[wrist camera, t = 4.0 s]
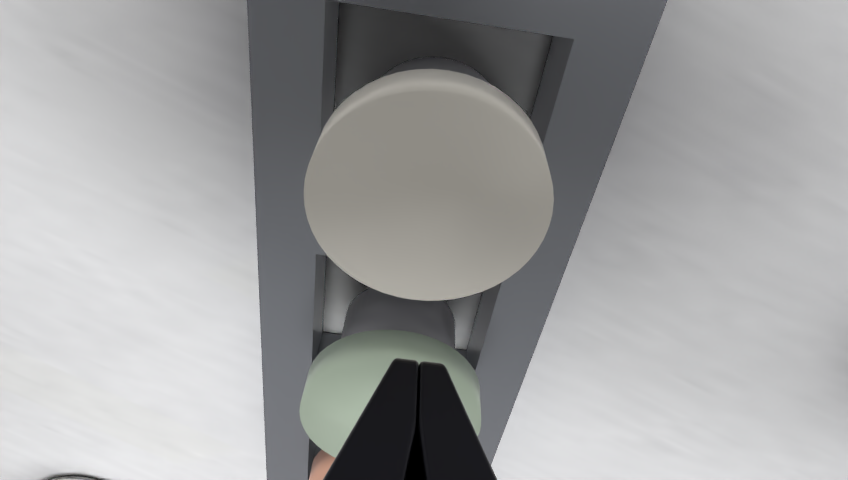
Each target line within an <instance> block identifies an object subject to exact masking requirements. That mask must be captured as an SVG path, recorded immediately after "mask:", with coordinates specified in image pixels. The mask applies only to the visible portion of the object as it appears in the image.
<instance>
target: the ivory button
mask: <svg viewBox="0 0 848 480" xmlns="http://www.w3.org/2000/svg"><path fill="white" fill-rule="evenodd" d="M553 204H554V194H553V183H552V179H551V175H550V170H549V167H548V163H547V159H546V155H545V152H544V148H543V144H542V142H541V139H540V137H539V134H538V132H537V130H536V128H535V127H534V125H533V123H532V121H531V120H530V118H529V117H528V116H527V115H526V113H525V112H524V111H523V110H522V108H521V107H520V106H519V105H518V104H517V103H516V102H514V101H513V100H512V99H511V98H510V97H509V96H508V95H506V94H505V93H503V92H502V91H501V90H499V89H498V88H496V87H495V86H493V85H491V84H490V83H489V82H488V81H487V80H486V79H485V78H484V77H483V76H482V75H481V74H480V73H478V72H477V71H476V70H474V69H473V68H471V67H469V66H467V65H465V64H464V63H461V62H458V61H456V60H452V59H448V58H441V57H423V58H417V59H413V60H410V61H406V62H404V63H402V64H400V65H397V66H396V67H394V68H392V69H391V70H389V71H388V72H387V73H386V74H384V75H383V76H382V77H381V78H379V79H377V80H375V81H372V82H370V83H368V84H366V85H365V86H363V87H362V88H360V89H358V90H357V91H355V92H354V93H353V94H351V95H350V96H349V97H348V98H347V99H346V100H344V101H343V102H342V103H341V104H340V105H339V107H338V108H337V109H336V110H335V111H334V112H333V113H332V115H331V116H330V118H329V120H328V121H327V123H326V124H325V126H324V128H323V130H322V133H321V135H320V137H319V140H318V142H317V145H316V147H315V150H314V152H313V155H312V157H311V160H310V162H309V165H308V168H307V172H306V176H305V183H304V206H305V211H306V216H307V220H308V222H309V225H310V228H311V230H312V233H313V234H314V236H315V238H316V240H317V242H318V244H319V245H320V246H321V248H322V249H323V251H324V252H325V253H326V255H327V256H328V257H329V258H330V259H331V260H332V261H333V262H334V263H335V264H336V265H337V266H338V267H339V268H340V269H342V270H343V271H344V272H345V273H346V274H348V275H349V276H351V277H352V278H354V279H355V280H357V281H359V282H360V283H362V284H364V285H366V286H368V287H370V288H372V289H375V290H377V291H380V292H382V293H385V294H389V295H392V296H396V297H400V298H406V299H412V300H423V301H441V300H450V299H457V298H462V297H466V296H470V295H473V294H477V293H480V292H483V291H485V290H487V289H489V288H492V287H494V286H496V285H498V284H499V283H501V282H503V281H505V280H506V279H508V278H509V277H511V276H512V275H513V274H515V273H516V272H517V271H519V270H520V269H521V268H522V267H523V266H524V265H525V264H526V263H527V262H528V261H529V260H530V259H531V257H532V256H533V255H534V254H535V252H536V251H537V250H538V248H539V246H540V245H541V243H542V241H543V240H544V238H545V235H546V233H547V231H548V228H549V225H550V221H551V217H552V214H553Z"/></svg>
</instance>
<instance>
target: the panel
mask: <svg viewBox="0 0 848 480" xmlns="http://www.w3.org/2000/svg"><path fill="white" fill-rule="evenodd" d="M339 2H343V3H349V4H355V5H362V6H368V7H374V8H380V9H387V10H393V11H399V12H406V13H412V14H418V15H425V16H431V17H437V18H444V19H450V20H456V21H462V22H469V23H475V24H481V25H488V26H494V27H500V28H507V29H513V30H519V31H525V32H532V33H538V34H544V35H551V36H553V39H552V42H551V46H550V49H549V53H548V57H547V60H546V64H545V68H544V71H543V75H542V79H541V82H540V86H539V89H538V93H537V97H536V100H535V104H534V108H533V111H532V115H531V118H530V120H531V121H532V123H533V125H534V127H535V128H536V130H537V132H538V134H539V137H540V139H541V142H542V144H543V148H544V152H545V155H546V159H547V163H548V167H549V170H550V175H551V179H552V183H553V194H554V204H553V214H552V217H551V221H550V225H549V228H548V231H547V233H546V235H545V238H544V240H543V241H542V243H541V245H540V246H539V248H538V250H537V251H536V252H535V254H534V255H533V256H532V257H531V259H530V260H529V261H528V262H527V263H526V264H525V265H524V266H523V267H522V268H521V269H520V270H519V271H517V272H516V273H515V274H513V275H512V276H511V277H509V278H508V279H506V280H505V281H503V282H501V283H499V284H498V285H496V286H494V287H492V288H489V289H487V290H485V291H483V293H482V296H481V300H480V304H479V307H478V311H477V315H476V318H475V322H474V326H473V329H472V333H471V336H470V340H469V344H468V347H467V351H466V350H458V349H455V350H456V351H458V352H459V353H460V354H461V355H462V356H463V357H465V359H466V360H467V361H468V362H469V363H470V364H471V366H472V367H473V369H474V371H475V372H476V375H477V377H478V380H479V385H480V404H481V428H480V433H479V435H478V439H479V441H480V443H481V445H482V447H483V450H484V452H485V454H486V456H487V458H488V461H489V463H490V465H491V463H492V461H493V458H494V456H495V453H496V450H497V448H498V445H499V442H500V440H501V437H502V435H503V432H504V429H505V427H506V424H507V421H508V419H509V416H510V413H511V411H512V408H513V406H514V403H515V400H516V398H517V395H518V392H519V390H520V387H521V385H522V382H523V379H524V377H525V374H526V371H527V369H528V366H529V363H530V361H531V358H532V356H533V353H534V350H535V348H536V345H537V342H538V340H539V337H540V335H541V332H542V329H543V327H544V324H545V321H546V319H547V316H548V313H549V311H550V308H551V306H552V303H553V300H554V298H555V295H556V292H557V290H558V287H559V285H560V282H561V279H562V277H563V274H564V271H565V269H566V266H567V263H568V261H569V258H570V256H571V253H572V250H573V248H574V245H575V242H576V240H577V237H578V235H579V232H580V229H581V227H582V224H583V221H584V219H585V216H586V213H587V211H588V208H589V206H590V203H591V200H592V198H593V195H594V192H595V190H596V187H597V184H598V182H599V179H600V177H601V174H602V171H603V169H604V166H605V163H606V161H607V158H608V156H609V153H610V150H611V148H612V145H613V142H614V140H615V137H616V134H617V132H618V129H619V127H620V124H621V121H622V119H623V116H624V113H625V111H626V108H627V106H628V103H629V100H630V98H631V95H632V92H633V90H634V87H635V84H636V82H637V79H638V77H639V74H640V71H641V69H642V66H643V63H644V61H645V58H646V56H647V53H648V50H649V48H650V45H651V42H652V40H653V37H654V34H655V32H656V29H657V27H658V24H659V21H660V19H661V16H662V13H663V11H664V8H665V6H666V3H667V0H247V7H248V31H249V56H250V80H251V104H252V129H253V153H254V177H255V202H256V226H257V250H258V275H259V299H260V324H261V348H262V372H263V397H264V421H265V445H266V470H267V480H309V477H310V472H311V467H312V462H313V460H314V458H315V456H316V455H317V453H318V452H319V451H320V450H321V448H320V447H318V446H317V445H316V444H315V443H314V442H313V441H312V440H311V439H310V438H309V436H308V435H307V433H306V432H305V430H304V428H303V426H302V423H301V420H300V412H299V410H300V403H301V399H302V395H303V391H304V387H305V383H306V379H307V376H308V372H309V369H310V366H311V364H312V362H313V361H314V359H315V358H316V357H317V355H318V354H319V353H320V352H321V351H322V350H324V349H325V348H326V347H327V346H329V345H330V344H332V343H333V342H335V341H337V340H339V339H341V337H342V335H340V334H332V333H325V332H322V330H323V310H324V290H325V271H326V256H327V255H326V253H325V252H324V251H323V249H322V248H321V246H320V245H319V244H318V242H317V240H316V238H315V236H314V234H313V233H312V230H311V228H310V225H309V222H308V220H307V216H306V211H305V206H304V183H305V176H306V172H307V168H308V165H309V162H310V160H311V157H312V155H313V152H314V150H315V147H316V145H317V142H318V140H319V137H320V135H321V133H322V130H323V128H324V126H325V124H326V123H327V121H328V120H329V118H330V116H331V115H332V113H333V112H334V95H335V76H336V56H337V37H338V17H339Z"/></svg>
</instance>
